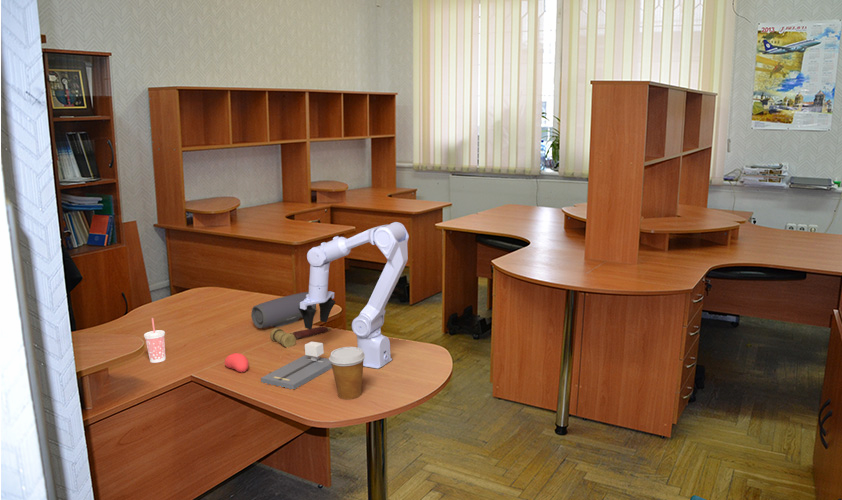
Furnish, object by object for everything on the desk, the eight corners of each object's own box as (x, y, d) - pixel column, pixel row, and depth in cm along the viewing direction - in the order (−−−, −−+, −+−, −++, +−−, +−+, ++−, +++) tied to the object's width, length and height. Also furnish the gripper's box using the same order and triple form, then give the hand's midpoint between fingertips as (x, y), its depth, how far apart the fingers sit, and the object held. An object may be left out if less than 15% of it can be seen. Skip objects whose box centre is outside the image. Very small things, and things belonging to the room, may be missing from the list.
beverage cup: (147, 358, 207) (142, 316, 204) (168, 355, 209) (162, 314, 207) (147, 365, 202) (141, 322, 199) (168, 361, 204) (162, 319, 201)
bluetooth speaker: (303, 313, 249) (301, 288, 247) (318, 318, 243) (316, 292, 241) (251, 328, 233) (249, 302, 231) (265, 334, 227) (263, 306, 225)
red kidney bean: (245, 367, 200) (234, 350, 200) (255, 364, 193) (243, 347, 192) (231, 377, 197) (220, 360, 197) (241, 375, 190) (229, 357, 189)
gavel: (323, 319, 231) (338, 325, 224) (323, 331, 232) (338, 338, 225) (269, 329, 218) (283, 336, 211) (270, 342, 219) (284, 349, 211)
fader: (324, 359, 195) (322, 343, 194) (317, 362, 193) (316, 346, 192) (312, 356, 198) (311, 341, 197) (305, 360, 195) (304, 344, 194)
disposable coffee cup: (368, 386, 179) (365, 345, 176) (366, 401, 169) (363, 358, 167) (333, 388, 178) (330, 347, 176) (330, 403, 169) (326, 359, 167)
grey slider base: (337, 364, 195) (337, 359, 195) (293, 390, 178) (293, 384, 178) (306, 359, 201) (305, 354, 201) (261, 382, 184) (260, 377, 184)
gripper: (322, 275, 206) (320, 315, 210) (292, 286, 194) (290, 328, 197) (340, 280, 203) (337, 321, 207) (311, 291, 191) (308, 334, 194)
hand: (316, 324), depth 202 cm, fingers open, 7 cm apart
